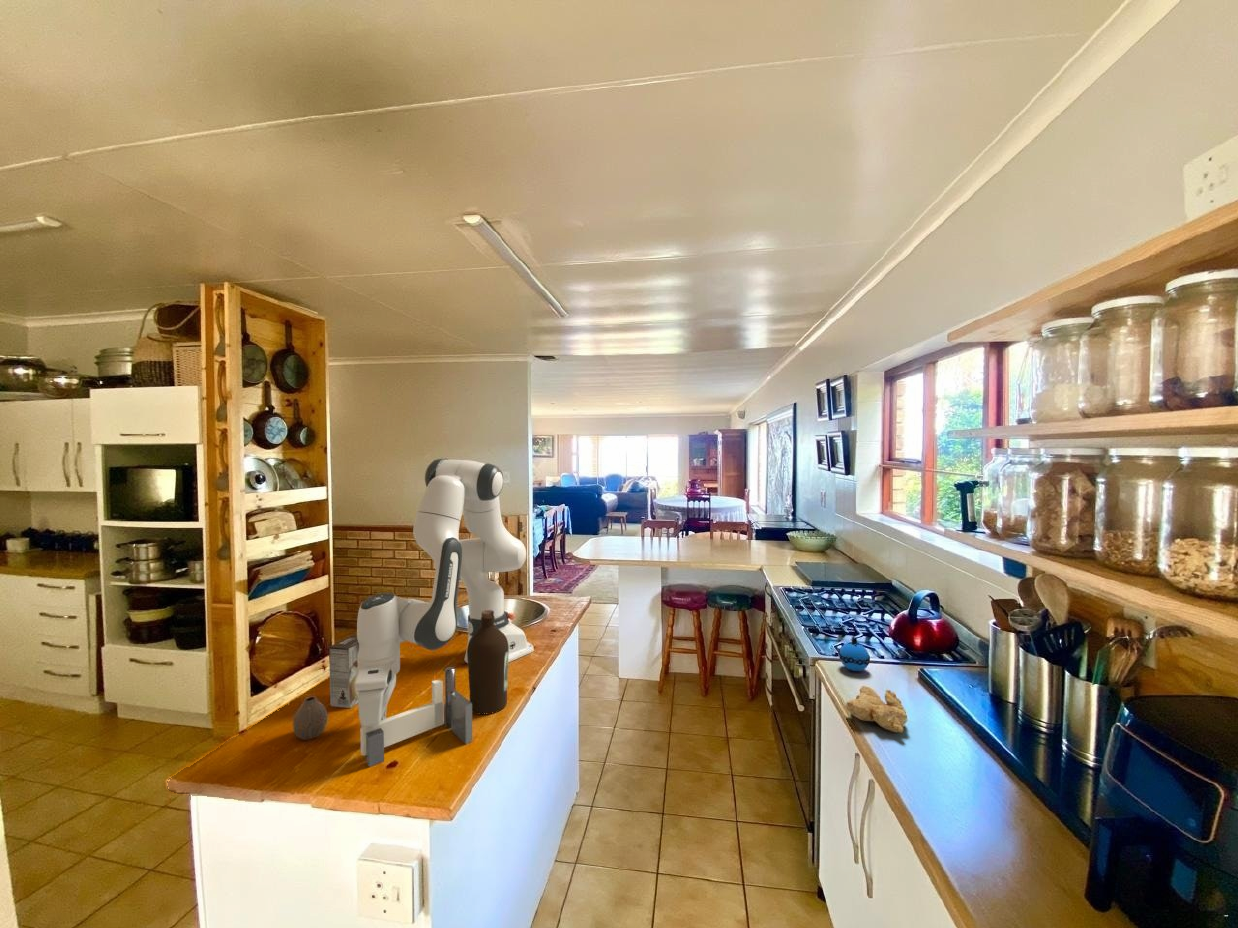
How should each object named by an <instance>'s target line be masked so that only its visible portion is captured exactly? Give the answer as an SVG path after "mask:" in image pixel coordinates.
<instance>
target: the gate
mask: <svg viewBox="0 0 1238 928" xmlns="http://www.w3.org/2000/svg"><path fill="white" fill-rule="evenodd" d="M444 724H445V700H444V681H443V680H442V679H441V678H438V679H435V680H432V681H431V702H429V703H426V704H423V705H420V706H418V707H415V708H411V709H409V710H405V711H403V712H401V713H398V714H395V715H392V716H390V717H386V719H383V720H381V721H380V723H379V724H378V725H376V726H370V727H362V726H361V727H360V728H359V729H360V731H359V732H360V733H359V734H360V738H359V739H360V754H361V755H362V756H366V733H368V732H371V731H374V730H376V729H379V728H381V729H382V730H383V731H384V748H387V747H389V746H391V745H394V744H397V743H400V742H402V741H404V740H407V739H409V738H412V737H414V736H417V735H420V734H422V733H425V732H427V731H430V730H432V729H434V728H438V727H440V726H442V725H444Z"/></svg>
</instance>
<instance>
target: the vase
mask: <svg viewBox="0 0 1238 928" xmlns="http://www.w3.org/2000/svg"><path fill="white" fill-rule="evenodd" d="M327 722H328V711H327V709H326V707H325V705H324V704H323V703H322V702H321V701H320V700H319V699H318V698H317V697H316V696H313V695H311V696H308V697H305V698H304V700H303V702H302V704H301V705H300V706H299V707H298V709H297V711H296V712H295V715H294V717H293V722H292V728H293V729H292V730H293V732H294V734H295V735H296V737H298V738H299V739H300V740H305V741H306V740H307V741H308V740H311V739H315V738H317V737H318V736H319V735H321V733H323V731H324V730H325V728H326V726H327V724H328V723H327Z"/></svg>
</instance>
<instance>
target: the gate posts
mask: <svg viewBox="0 0 1238 928" xmlns="http://www.w3.org/2000/svg"><path fill="white" fill-rule="evenodd" d="M444 699H445V700H444V724H445V725H444V726H445V728H446V729H450V731H451V732H452V733H453V734H454V735H456V737H457V738H458V739H460V740H461V742H462V743H464V744H465V745H469V744H470V743H469V742H471V741H472V742H473V711H472V703H471V702H470V699H468V698H466V697H465V696H464V695H462V694H461V693H460V692H459V691H458V690H456V667H454V666H448V667H446V668H445V669H444ZM472 742H471V743H472ZM365 757H366V758H365V760H366V762H365V763H366V765H367V766H368V767H369V768H371V767H373V766H376V765H379V764H381V763H383V762H385V747H384V731H383V730H382V729H381V728H379V729H376V730H374V731H371V732H368V733H366V755H365Z"/></svg>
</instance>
